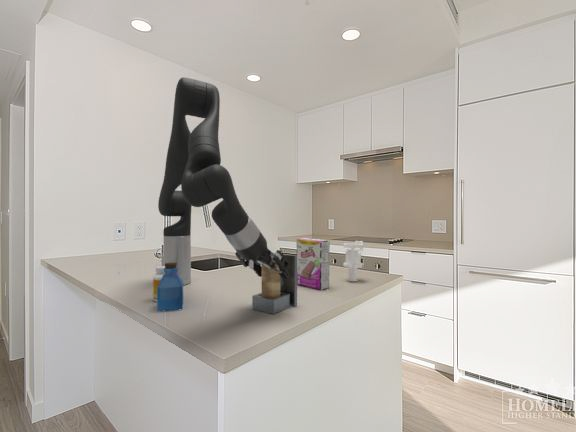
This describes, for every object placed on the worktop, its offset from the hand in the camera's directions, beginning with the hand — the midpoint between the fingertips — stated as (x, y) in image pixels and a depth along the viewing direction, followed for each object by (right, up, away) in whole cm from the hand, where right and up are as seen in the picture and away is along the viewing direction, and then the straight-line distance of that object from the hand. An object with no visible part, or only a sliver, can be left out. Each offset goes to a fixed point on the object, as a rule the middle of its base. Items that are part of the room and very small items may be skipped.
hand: (273, 275), depth 86 cm
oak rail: (-1, -8, -1) cm, 8 cm away
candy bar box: (+12, -8, +23) cm, 27 cm away
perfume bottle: (-28, -9, 0) cm, 29 cm away
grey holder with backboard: (0, -9, 0) cm, 9 cm away
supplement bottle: (-33, -9, +7) cm, 35 cm away
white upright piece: (+28, -8, +32) cm, 43 cm away
